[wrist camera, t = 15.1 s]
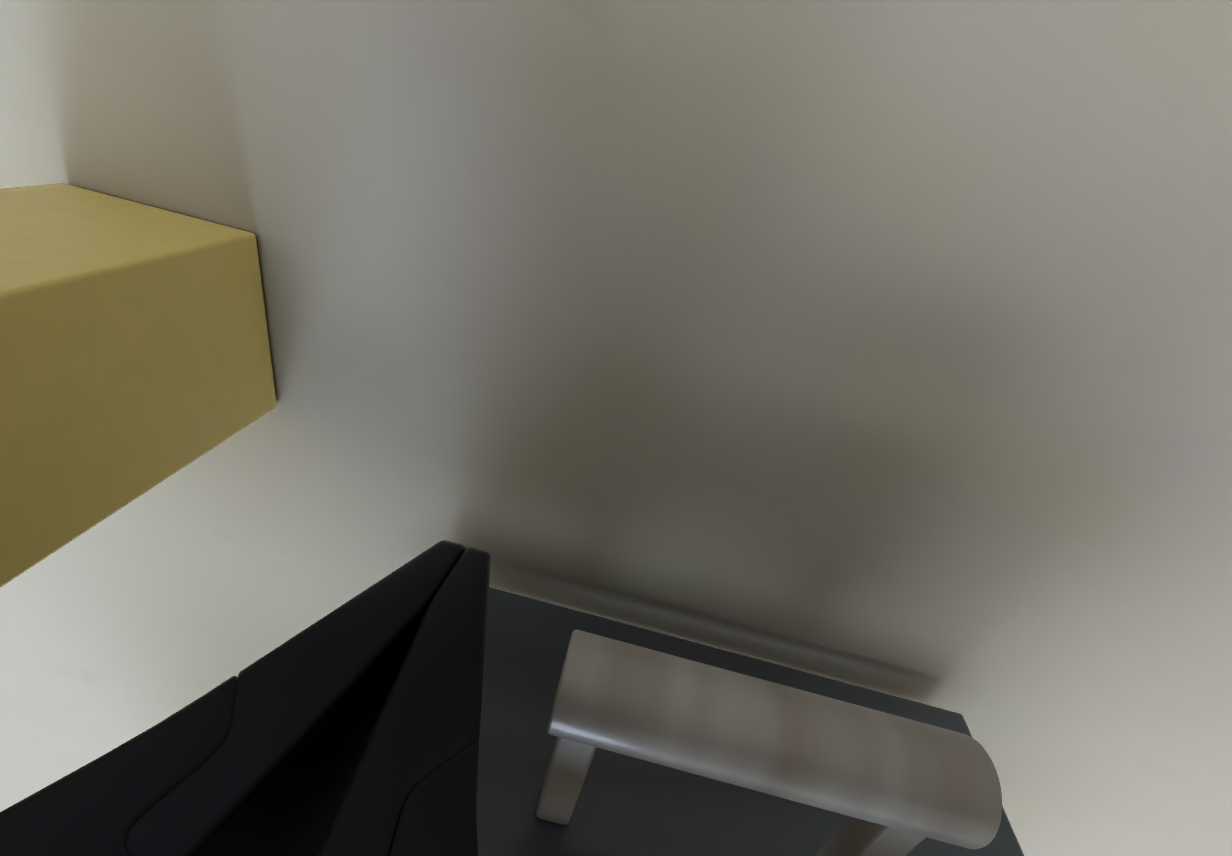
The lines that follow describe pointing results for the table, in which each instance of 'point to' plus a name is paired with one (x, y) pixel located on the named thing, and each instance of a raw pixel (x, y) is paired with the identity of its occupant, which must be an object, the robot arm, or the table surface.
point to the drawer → (709, 752)
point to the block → (115, 356)
